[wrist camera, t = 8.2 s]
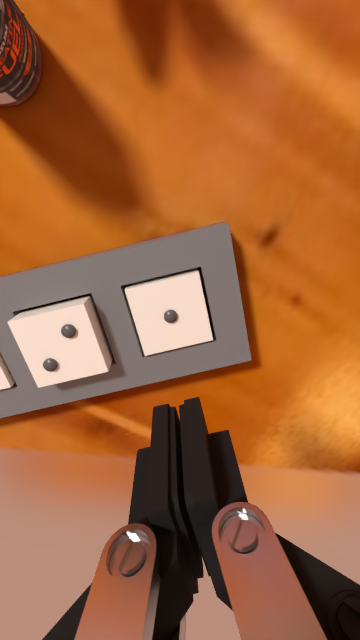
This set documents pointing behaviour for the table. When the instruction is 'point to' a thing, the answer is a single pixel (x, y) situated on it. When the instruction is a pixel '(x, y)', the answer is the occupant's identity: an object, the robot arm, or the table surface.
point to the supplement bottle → (17, 56)
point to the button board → (127, 314)
